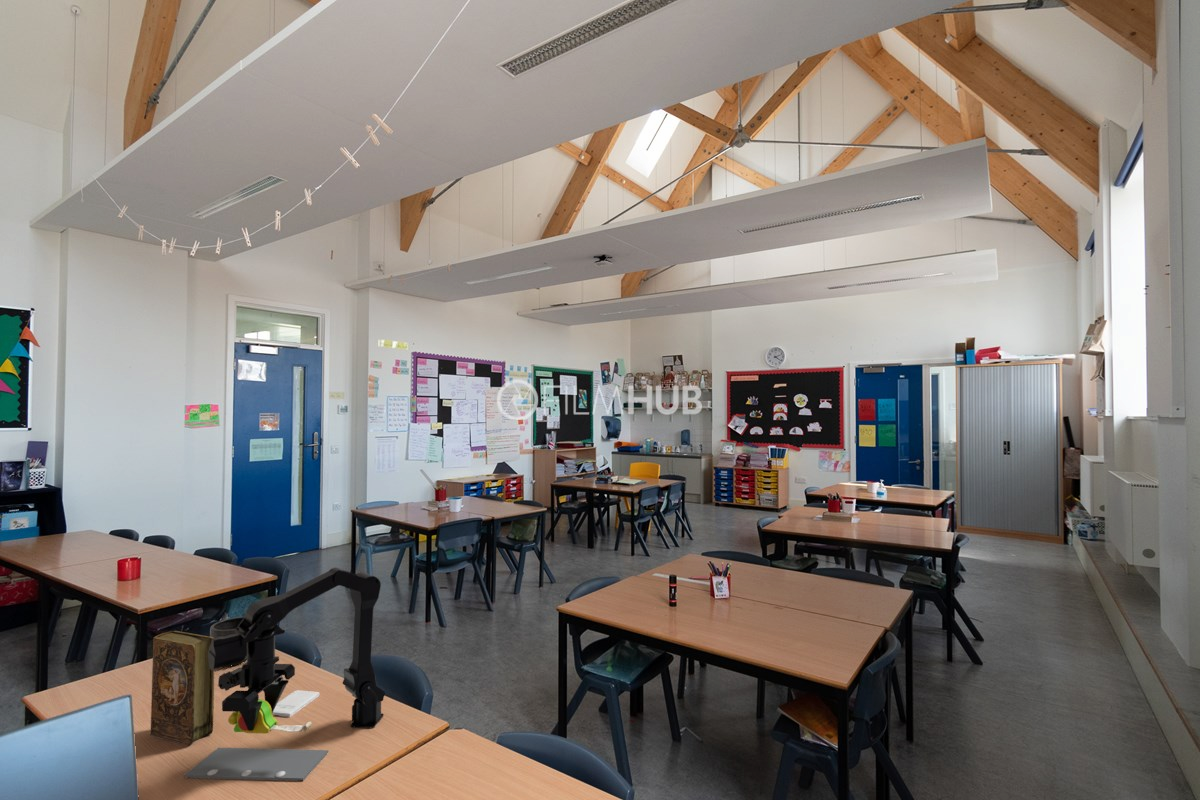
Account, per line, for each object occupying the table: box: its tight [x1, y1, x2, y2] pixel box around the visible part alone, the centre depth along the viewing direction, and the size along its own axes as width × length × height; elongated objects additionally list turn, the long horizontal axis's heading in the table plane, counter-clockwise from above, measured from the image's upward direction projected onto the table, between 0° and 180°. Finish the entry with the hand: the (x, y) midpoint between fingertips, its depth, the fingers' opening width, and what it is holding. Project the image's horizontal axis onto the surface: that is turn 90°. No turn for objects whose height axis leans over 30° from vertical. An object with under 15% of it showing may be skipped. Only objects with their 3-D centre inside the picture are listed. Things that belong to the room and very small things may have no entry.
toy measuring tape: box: [227, 698, 313, 734], centre depth 134 cm, size 6×20×7 cm, turn 88°
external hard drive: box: [272, 689, 320, 718], centre depth 163 cm, size 2×8×12 cm
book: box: [150, 630, 215, 746], centre depth 147 cm, size 16×6×25 cm, turn 71°
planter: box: [209, 616, 252, 667], centre depth 192 cm, size 14×14×13 cm
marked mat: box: [183, 747, 329, 782], centre depth 134 cm, size 28×11×1 cm, turn 87°
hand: (260, 722), depth 134 cm, fingers closed on toy measuring tape, 6 cm apart
